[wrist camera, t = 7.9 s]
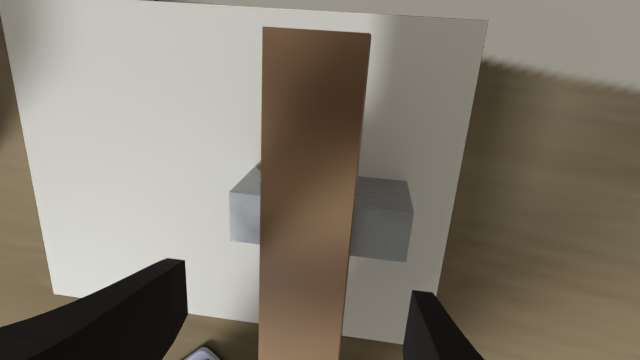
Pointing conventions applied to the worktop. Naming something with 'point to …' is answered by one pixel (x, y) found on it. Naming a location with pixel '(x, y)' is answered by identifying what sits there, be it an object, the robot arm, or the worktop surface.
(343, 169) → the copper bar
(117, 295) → the robot arm
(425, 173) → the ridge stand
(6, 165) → the worktop surface
